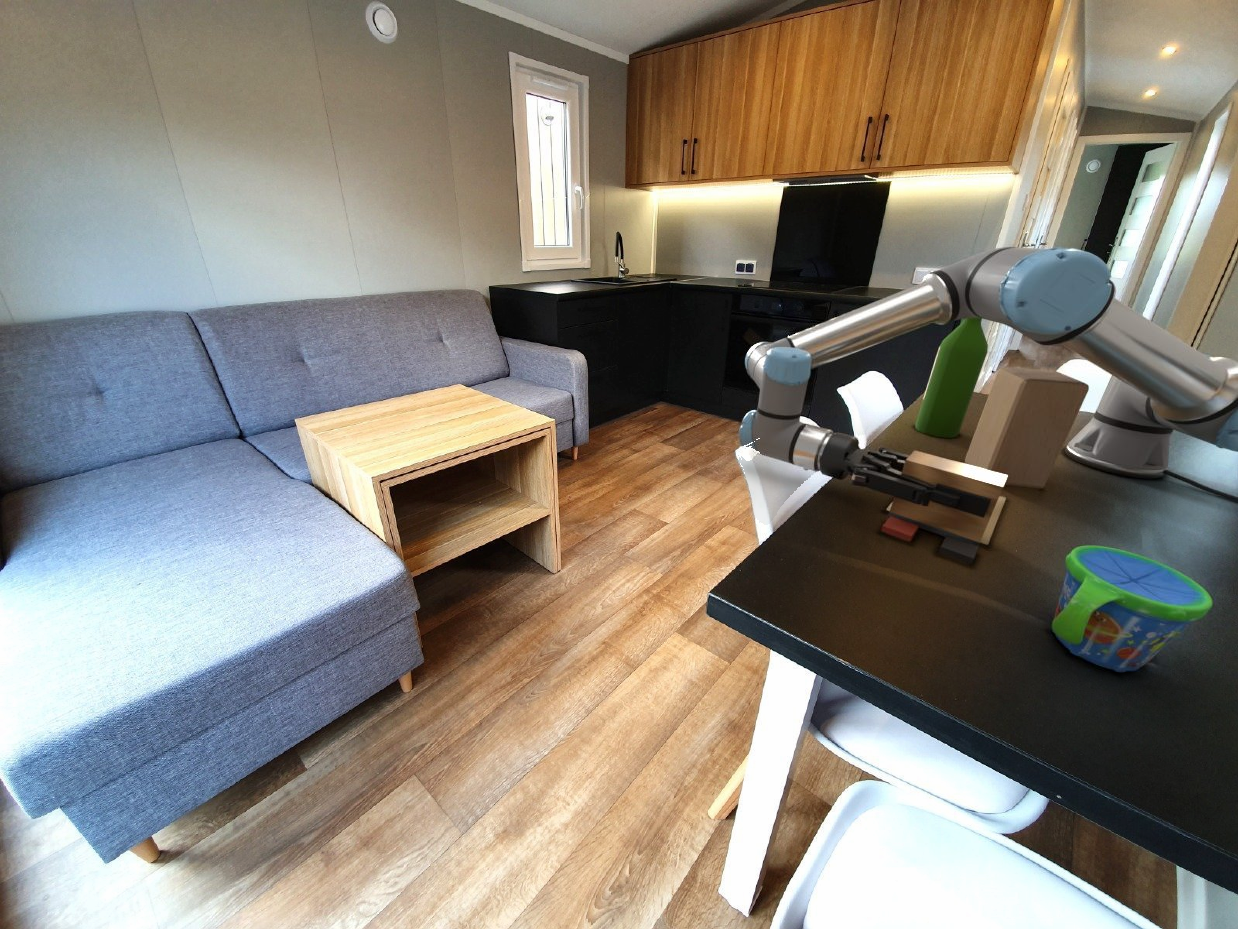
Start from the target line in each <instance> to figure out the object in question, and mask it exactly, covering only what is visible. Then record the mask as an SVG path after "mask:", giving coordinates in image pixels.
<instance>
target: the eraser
mask: <svg viewBox="0 0 1238 929" xmlns="http://www.w3.org/2000/svg"><path fill="white" fill-rule="evenodd" d="M909 455H910V456H909V457H908V458H907V459H906V461H905V464H904V467H903V470H902V474H905V475H909V476H912V477H915V478H918V479H920V480H923V481H925V482H928V483H930V484H933V485H934V486H935V488H936V485H937V484H938V483H939V484H943V485H946V486H949V487H953V488H956V489H959V490H963V491H966V492H970V493H973V494H976V495H980V496H983V497H987V498H990V499H991V501H990V504H989V506H988V509H987V511H986V513H985V516H984V518H983V517H980V516H977V515H973V514H970V513H967V512H964V511H961V510H958V509H954V508H951V507H948V506H945V505H942V504H939V503H935V502H932V501H931V500H930V502H929V505H928V506H922V504H920V505H919V504H915V503H912V502H909V501H906V500H903V499H900V498H897V497H894V496H893V500H892V502H891V503H892V506H891V509H890V511H888V516H887V518H889V517H890V516H892V517H895V518H898V519H901V520H904V521H907V522H910V523H913V524H915V525H918V526H919V527H918V529H921V530H924V531H926V532H929V533H932V534H935V535H938V536H941V537H944V538H946V536H950V537H953V538H956V539H959V540H962V541H965V542H968V543H970V544H973V545H976V546H979V547H980V542H981V539H982V537H983V534H984V532H985V530H986V527H987V525H988V522H989V520H990V518H991V515H992V513H993V510H994V508H995V506H996V503H997V501H998V499H999V496H1001V494H1002V492H1003V489H1004V487H1005V485H1004V484H1005V482H1006V479H1007V477H1008V475H1005V474H1002V473H998V472H994V471H990V470H987V469H983V468H979V467H975V466H971V465H968V464H965V462H960V461H957V460H952V459H948V458H944V457H941V456H937V455H934V454H930V453H926V452H922V451H918V450H913V451H912V453H911V454H909Z"/></svg>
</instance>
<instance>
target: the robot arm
mask: <svg viewBox="0 0 1238 929" xmlns="http://www.w3.org/2000/svg"><path fill="white" fill-rule="evenodd" d="M1111 278H1112V274H1111V271H1110V268H1109V267H1108V265H1107V264H1106V262H1104V260H1102V258H1100V257H1099V256H1097V255H1095V254H1093V253H1091V252H1089V251H1085V250H1081V249H1079V248H1074V247H1062V246H1061V247H1060V246H1058V247H1049V248H1037V247H1017V246H1005V247H1004V246H1001V247H997V248H993V249H989V250H985V251H983V252H979V253H977V254H975V255H972V256H969V257H967V258H964V259H962V260H959V261H957V262H954V263H952V264H950V265H947V266H945V267H942V268H940V269H938V270H934V271H933V272H930V273H928V274H926V275H925V276H924V277H923V278H922V280H921V282H920V283H917V284H916V285H913V286H910V287H908V288H905V289H902V290H901V291H898V292H896V293H893V294H891V295H888V296H886V297H884V298H881V299H879V300H875V301H874V302H871V303H867V304H866V305H864V306H861V307H859V308H856V309H853V310H851V311H848V312H846V313H843V314H841V315H839V316H837V317H834V318H831V319H829V320H826V321H824V322H821V323H819V324H817V325H815V326H814V325H813V326H812V327H810V328H809V327H808V328H806V329H804V330H802V331H799V332H796V333H795V334H792V335H790V336H789V335H788V336H787V337H784V338H782V339H779V340H776V341H773V342H772V341H771V342H769V341H760V342H757V343H756V344H754V345H753V346H751V347H750V348H749V350H748V351H747V353H746V354H745V357H744V365H745V369H746V372H747V375H748V376H749V378H750V379H751V380H753V382H754V383H755V384H756V386H757V387H758V389H759V396H758V403H757V409H753V410H750V411H748V412H747V413H746V414H745V416H743V418H742V421H741V425H740V426H739V429H738V441H739V444H740V446H742V447H743V446H744V445H747V444H749V443H751V442H753V443H752V444H750V445H748V446H746V447H749V446H752V447H751V448H753V449H755V450H756V451H759V452H760V454H762V455H761V456H763V455H764V456H763V457H768V458H771V459H775V460H778V461H781V462H785V463H788V464H791V465H793V466H796V467H799V468H802V469H803V470H804V471H805V472H806V471H812V472H815V473H818V472H820V473H821V475H823V476H826V477H830V478H833V479H836V480H839V481H843V480H844V479H846V478H847V477H848V476H851V479H850V485H853V486H857V487H861V488H867V489H869V490H872V491H875V492H879V493H882V494H885V495H888V496H891V497H893V498H894V497H897V498H900V499H903V500H906V501H909V502H912V503H915V504H919V505H920V504H922V506H928V505H929V502H930V500H931V501H932V502H935V503H939V504H942V505H945V506H948V507H951V508H954V509H958V510H961V511H964V512H967V513H970V514H973V515H977V516H980V517H983V518H984V516H985V513H986V511H987V509H988V506H989V504H990V501H991V499H990V498H987V497H983V496H980V495H976V494H973V493H970V492H966V491H963V490H959V489H956V488H953V487H949V486H946V485H943V484H939V483H938V484H937V485H936V488H935V486H934V485H933V484H930V483H928V482H925V481H923V480H920V479H918V478H915V477H912V476H909V475H905V474H902V470H903V467H904V464H905V461H906V459H907V458H908V457H909V456H910V455H911V454H906V453H903V452H899V451H896V450H892V449H890V448H887V447H884V446H878V449H877V450H876V449H865V448H861V447H860V446H859V445H860V441H859V438H858V437H856V436H854V435H851V434H846V433H843V432H839V431H837V432H834V431H833V430H832V429H828V428H825V427H821V426H817V425H814V424H809V423H804V422H802V421H801V416H802V410H803V406H804V401H805V397H806V392H807V388H808V387H807V386H808V383H809V379H810V377H811V370H812V369H815V368H818V367H820V366H823V365H826V364H828V363H831V362H833V361H837V360H838V359H841V358H844V357H848V356H849V355H852V354H855V353H857V352H860V351H862V350H865V349H868V348H870V347H873V346H875V345H878V344H881V343H883V342H886V341H889V340H892V339H894V338H896V337H899V336H902V335H905V334H907V333H911V332H912V331H915V330H918V329H920V328H923V327H925V326H928V325H931V324H933V323H934V324H937V325H940V326H943V325H946V324H950V323H951V322H954V321H959V320H964V319H965V318H982V320H986V321H990V322H994V323H998V324H1002V325H1004V326H1007V327H1009V328H1011V329H1013V330H1015V331H1016V332H1018V333H1020V334H1022V335H1023V336H1025V337H1026V338H1028V339H1030V340H1032V341H1033V342H1035V343H1037V344H1039V345H1041V346H1043V347H1053V346H1054V347H1055V346H1060V345H1061V346H1063V347H1064V348H1066V349H1068V350H1069V351H1071V352H1073V353H1075V354H1077V355H1078V356H1079V357H1081V358H1083V359H1084V360H1086V361H1088V362H1090V363H1091V364H1093V365H1094V366H1096V367H1098V368H1099V369H1101V370H1103V371H1104V372H1106V373H1107V374H1109V375H1111V377H1110V378H1109V380H1108V382H1107V385H1106V388H1105V389H1104V391H1103V394H1102V397H1100V398H1101V399H1100V400H1099V403H1098V405H1097V406H1096V410H1095V412H1094V414H1093V416H1092V418H1091V420H1090V421H1089V422H1088V423H1086V425H1085V426H1084V427H1083V428H1082V429H1081V430H1080V431H1078V433H1077V434H1076V435H1075V436H1074V437H1072V439H1070V441H1068V443H1067V444H1066V447H1065V449H1064V453H1065V454H1066V456H1067V457H1069V458H1070V459H1071V460H1074V461H1076V462H1077V463H1079V464H1082V465H1084V466H1087V467H1090V468H1093V469H1096V470H1099V471H1102V472H1106V473H1111V474H1115V475H1118V476H1119V475H1120V476H1123V477H1129V478H1130V477H1131V478H1138V479H1158V478H1162V477H1163V476H1164V475H1167V476H1169V477H1172V478H1174V479H1177V480H1179V481H1181V482H1184V483H1186V484H1188V485H1191V486H1193V487H1195V488H1198V489H1200V490H1202V491H1204V492H1207V493H1210V494H1213V495H1215V496H1219V497H1222V498H1225V499H1228V500H1231V501H1234V502H1238V496H1236V495H1233V494H1229V493H1226V492H1223V491H1220V490H1218V489H1214V488H1212V487H1209V486H1207V485H1204V484H1202V483H1199V482H1197V481H1195V480H1193V479H1190V478H1188V477H1185V476H1183V475H1180V474H1178V473H1175V472H1174V471H1171V470H1168V468H1169V455H1170V442H1171V441H1170V440H1171V436H1172V435H1173V432H1174V431H1176V432H1179V433H1181V434H1184V435H1186V436H1189V437H1192V438H1195V439H1197V440H1200V441H1202V442H1205V443H1208V444H1211V445H1213V446H1215V447H1216V448H1219V449H1224V450H1229V451H1232V452H1235V453H1238V361H1237V360H1235V359H1233V358H1230V357H1223V356H1212V355H1208V354H1204V353H1202V352H1200V351H1198V349H1196V348H1194V347H1192V346H1191V345H1190V344H1187V343H1186V342H1184V341H1183V340H1181V339H1180V338H1178V337H1177V336H1175V335H1174V334H1172V333H1170V332H1169V331H1168V330H1166V329H1164V328H1162V327H1161V326H1159V325H1158V324H1156V323H1154V322H1153V321H1151V320H1150V319H1148V318H1147V317H1145V316H1144V315H1142V314H1140V313H1139V312H1138V311H1136V310H1134V309H1133V308H1131V307H1129V306H1128V305H1126V304H1125V303H1123V302H1122V301H1121V300H1118V298H1116V295H1117V287H1116V285H1115V283H1114V281H1112V280H1111ZM758 438H760V439H758ZM756 439H758V440H756ZM754 441H755V442H754ZM760 454H759V455H760Z"/></svg>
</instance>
